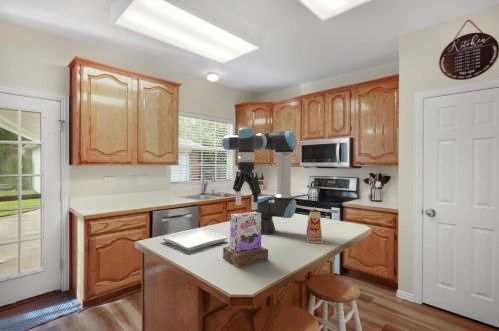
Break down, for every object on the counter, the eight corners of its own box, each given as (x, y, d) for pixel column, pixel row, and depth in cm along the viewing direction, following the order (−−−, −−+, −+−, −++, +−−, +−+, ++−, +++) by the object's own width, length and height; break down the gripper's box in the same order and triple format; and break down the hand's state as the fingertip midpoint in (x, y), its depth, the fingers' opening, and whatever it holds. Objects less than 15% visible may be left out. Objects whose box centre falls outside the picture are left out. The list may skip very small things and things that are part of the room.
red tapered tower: (323, 243, 149) (323, 207, 149) (306, 242, 151) (306, 207, 151) (322, 238, 158) (322, 205, 158) (306, 237, 160) (306, 204, 160)
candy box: (235, 252, 118) (235, 216, 118) (229, 249, 123) (229, 213, 123) (261, 248, 125) (261, 213, 124) (255, 244, 130) (255, 211, 130)
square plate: (188, 255, 130) (188, 247, 130) (159, 243, 148) (159, 236, 148) (228, 242, 150) (228, 236, 150) (199, 233, 168) (199, 227, 168)
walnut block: (223, 257, 125) (223, 247, 125) (251, 251, 134) (251, 241, 134) (238, 267, 114) (238, 256, 114) (268, 260, 123) (268, 249, 123)
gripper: (226, 161, 132) (226, 203, 132) (255, 162, 111) (254, 212, 111) (238, 161, 136) (238, 202, 136) (269, 161, 115) (268, 210, 116)
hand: (246, 207), depth 124 cm, fingers open, 13 cm apart
